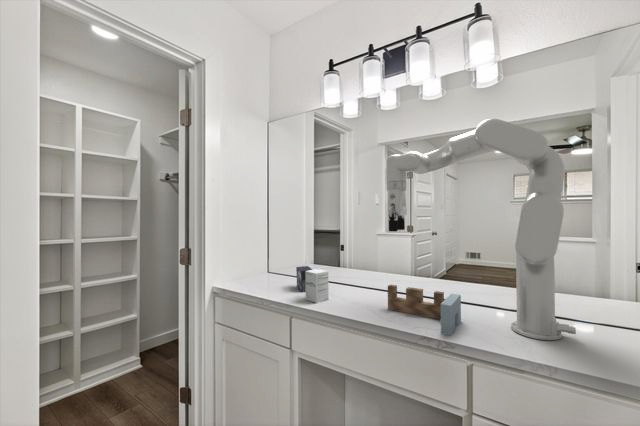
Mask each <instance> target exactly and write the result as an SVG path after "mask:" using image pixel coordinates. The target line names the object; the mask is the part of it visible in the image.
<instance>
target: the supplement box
mask: <svg viewBox="0 0 640 426" xmlns="http://www.w3.org/2000/svg"><path fill="white" fill-rule="evenodd" d="M305 273H306V292H305V301H310V302H312V303H315V304H319V303H318V302H320V303H323V302H326V300H327V301H329V271H328V270H325V269H320V268H319V269H318V268H315V269H313V270H308V271H305ZM322 301H323V302H322Z"/></svg>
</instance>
